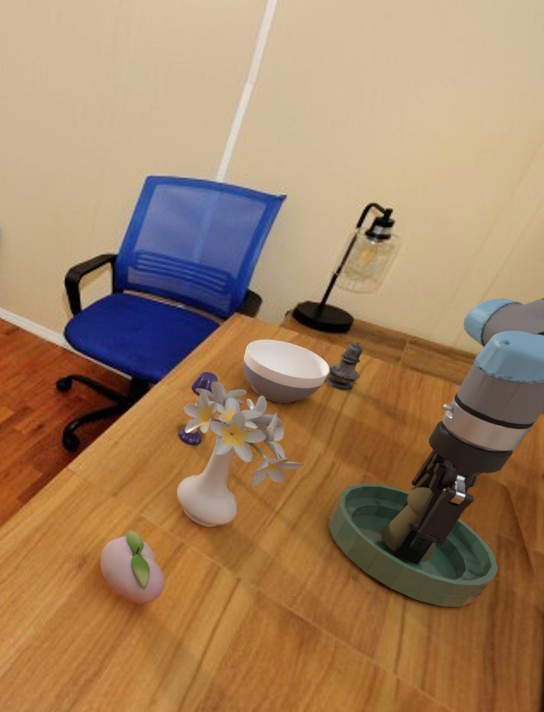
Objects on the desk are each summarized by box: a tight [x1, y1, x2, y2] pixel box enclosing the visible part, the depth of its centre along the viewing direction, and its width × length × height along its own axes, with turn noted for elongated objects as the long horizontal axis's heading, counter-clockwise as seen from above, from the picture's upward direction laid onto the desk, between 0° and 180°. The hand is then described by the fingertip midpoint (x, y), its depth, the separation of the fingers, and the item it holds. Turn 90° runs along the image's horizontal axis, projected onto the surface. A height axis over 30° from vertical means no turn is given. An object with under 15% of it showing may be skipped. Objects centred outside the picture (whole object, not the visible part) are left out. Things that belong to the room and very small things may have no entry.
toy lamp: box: [178, 371, 219, 446], centre depth 103 cm, size 5×5×17 cm
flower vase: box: [176, 381, 305, 528], centre depth 84 cm, size 13×18×25 cm
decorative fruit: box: [100, 529, 165, 605], centre depth 76 cm, size 9×8×10 cm
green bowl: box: [327, 482, 499, 608], centre depth 81 cm, size 18×18×6 cm
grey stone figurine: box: [324, 341, 364, 391], centre depth 120 cm, size 6×6×12 cm
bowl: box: [242, 339, 330, 404], centre depth 119 cm, size 16×16×10 cm
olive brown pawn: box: [381, 488, 436, 562], centre depth 79 cm, size 6×6×11 cm
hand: (404, 543), depth 82 cm, fingers closed on olive brown pawn, 6 cm apart
